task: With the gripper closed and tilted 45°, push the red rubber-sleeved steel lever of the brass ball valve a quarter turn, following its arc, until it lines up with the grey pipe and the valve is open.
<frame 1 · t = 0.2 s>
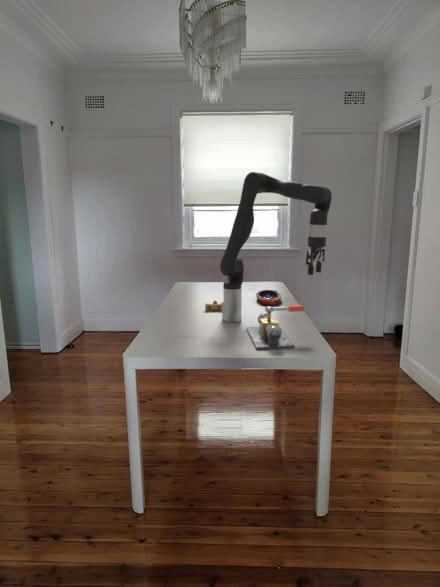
hand: (314, 273, 162), 29 cm above the table, tool pointing down, fingers open, 8 cm apart
valve lever: (284, 308, 166), point 13 cm above the table, hinge at 45.0°
valve body: (268, 338, 168), on the table
dish: (268, 301, 237), on the table
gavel: (214, 308, 223), on the table
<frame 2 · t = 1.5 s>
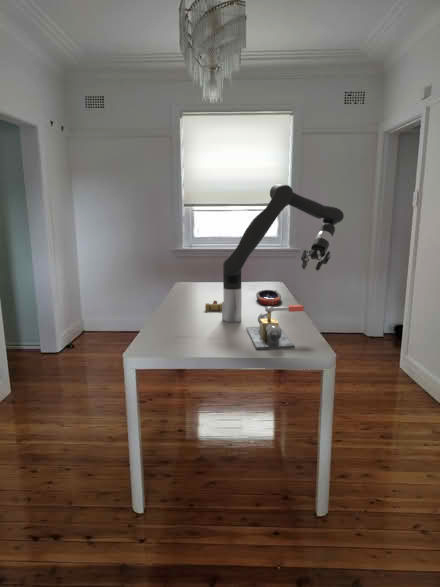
hand: (309, 268, 179), 28 cm above the table, tool tilted 45°, fingers open, 6 cm apart
nothing on the table moved.
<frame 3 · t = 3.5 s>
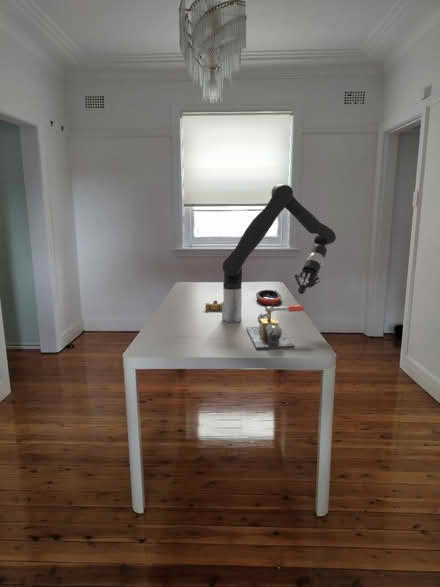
hand: (300, 293, 175), 18 cm above the table, tool tilted 45°, fingers closed
nothing on the table moved.
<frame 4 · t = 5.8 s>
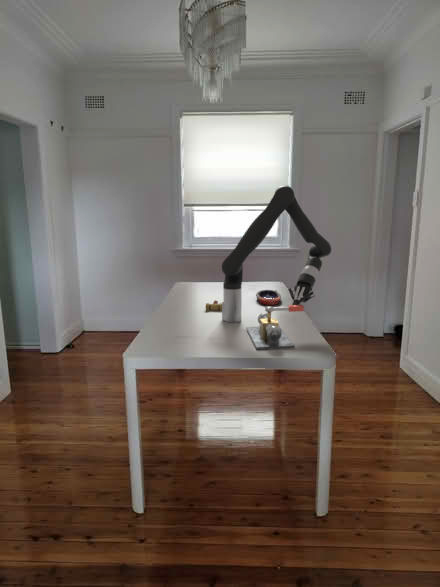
hand: (294, 308, 169), 13 cm above the table, tool tilted 45°, fingers closed
valve lever: (284, 308, 166), point 13 cm above the table, hinge at 45.0°, touching gripper
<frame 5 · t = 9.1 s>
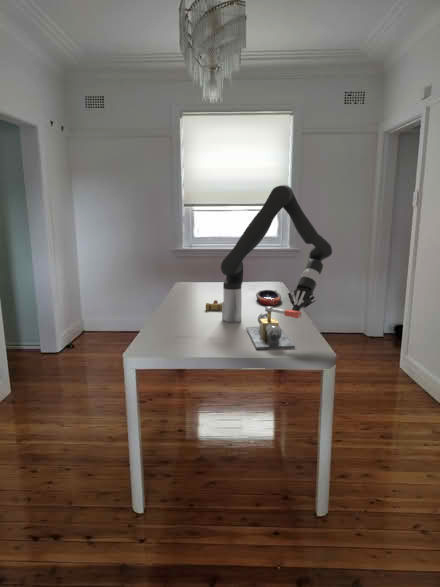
hand: (294, 314, 160), 13 cm above the table, tool tilted 45°, fingers closed
valve lever: (282, 311, 161), point 13 cm above the table, hinge at -1.3°, touching gripper
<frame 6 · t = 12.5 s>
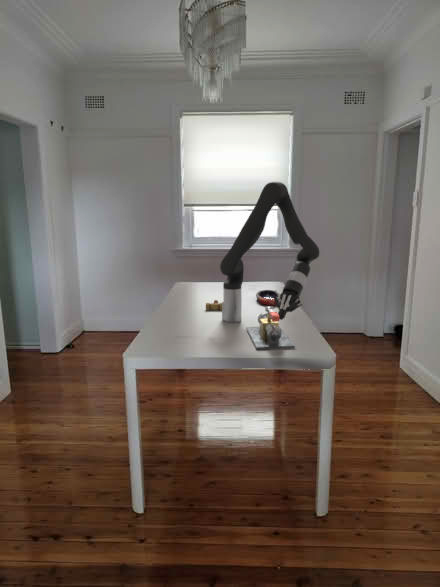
hand: (279, 318, 155), 13 cm above the table, tool tilted 45°, fingers closed
valve lever: (272, 313, 159), point 13 cm above the table, hinge at -47.3°, touching gripper
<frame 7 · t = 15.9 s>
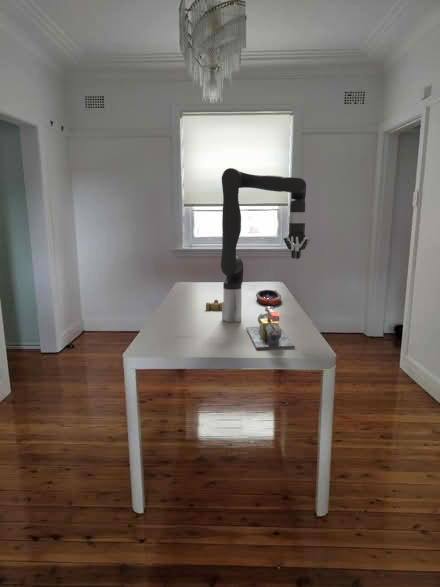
hand: (295, 258, 182), 33 cm above the table, tool pointing down, fingers closed
valve lever: (272, 313, 159), point 13 cm above the table, hinge at -47.3°
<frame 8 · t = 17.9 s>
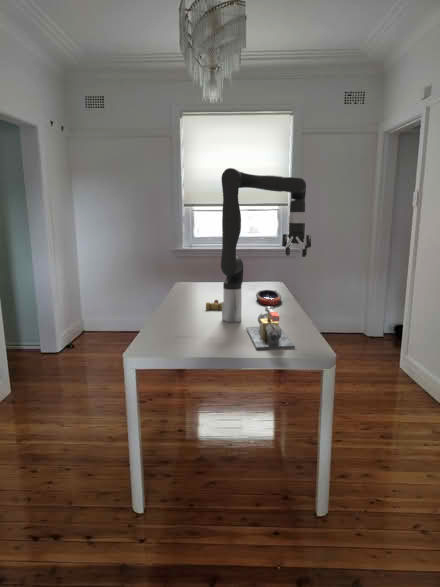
hand: (295, 256, 182), 34 cm above the table, tool pointing down, fingers open, 8 cm apart
at the end: valve lever at -47° (first picture: +45°); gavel moved 2.5 cm from its start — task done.
